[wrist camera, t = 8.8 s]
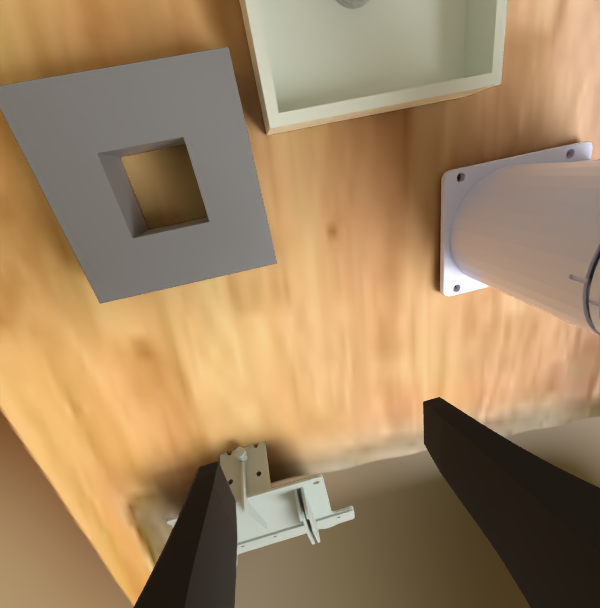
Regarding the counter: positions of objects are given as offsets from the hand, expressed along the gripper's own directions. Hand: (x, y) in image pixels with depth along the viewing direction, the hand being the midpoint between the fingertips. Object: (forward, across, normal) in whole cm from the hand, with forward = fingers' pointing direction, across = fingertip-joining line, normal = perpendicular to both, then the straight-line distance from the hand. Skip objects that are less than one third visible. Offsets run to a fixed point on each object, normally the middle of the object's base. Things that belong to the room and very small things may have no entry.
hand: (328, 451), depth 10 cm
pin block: (+10, +4, -9) cm, 15 cm away
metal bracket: (+11, +5, +16) cm, 21 cm away
